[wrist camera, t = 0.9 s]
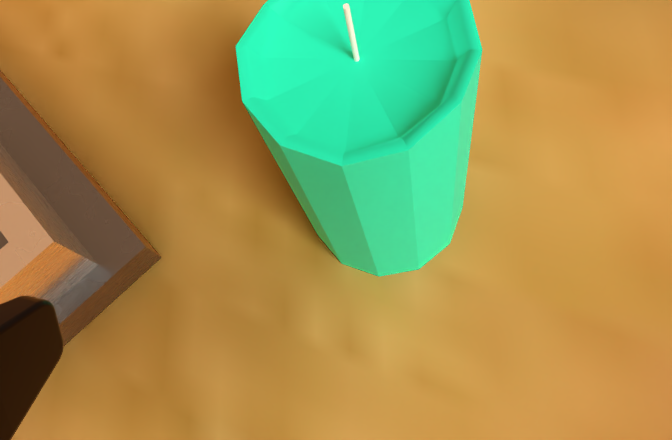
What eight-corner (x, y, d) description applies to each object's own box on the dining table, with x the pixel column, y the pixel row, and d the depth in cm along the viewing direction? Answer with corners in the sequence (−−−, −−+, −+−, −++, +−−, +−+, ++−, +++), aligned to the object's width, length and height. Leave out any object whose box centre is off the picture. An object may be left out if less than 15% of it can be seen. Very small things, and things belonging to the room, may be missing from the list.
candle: (492, 183, 24) (542, -38, 13) (405, 307, 23) (378, 182, 12) (369, 112, 26) (320, -135, 15) (282, 223, 25) (159, 47, 14)
